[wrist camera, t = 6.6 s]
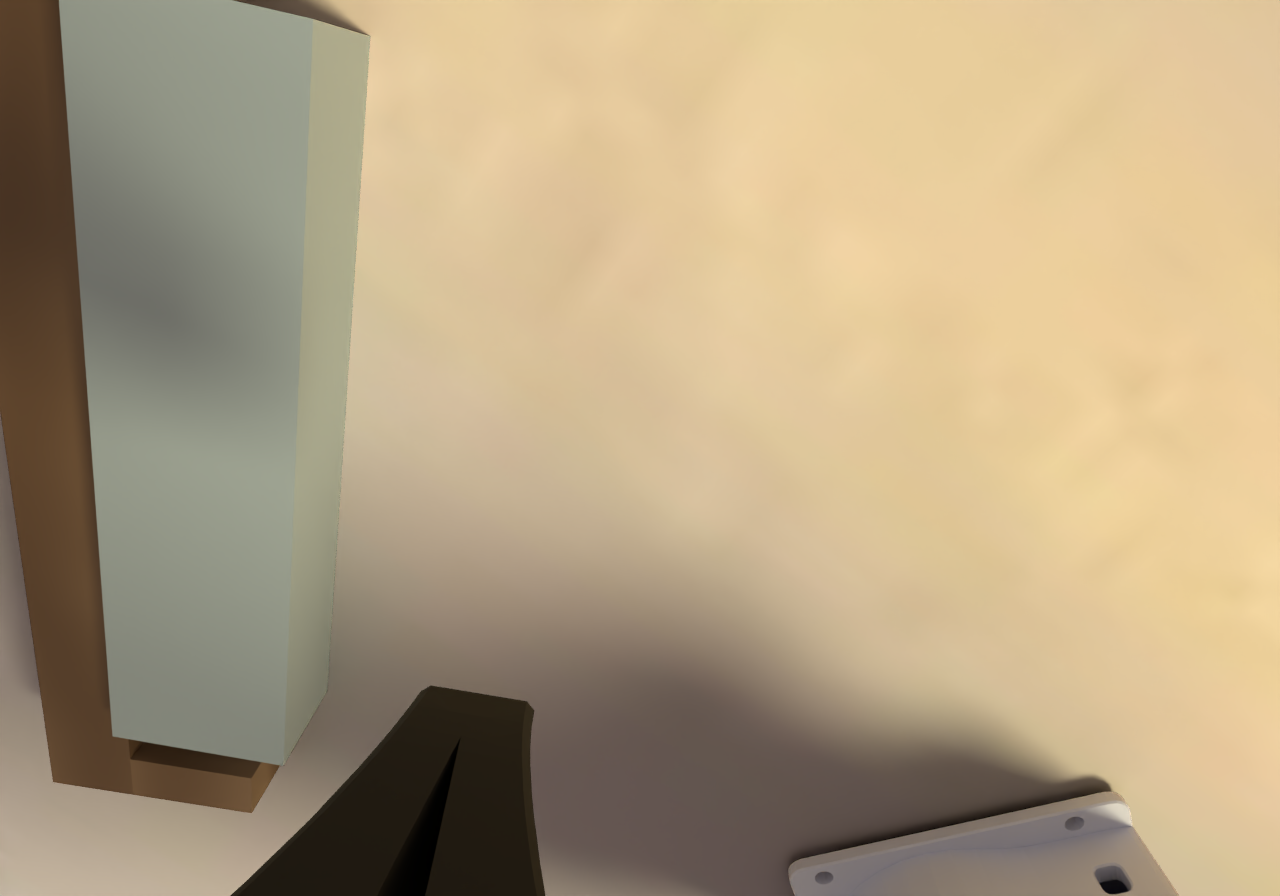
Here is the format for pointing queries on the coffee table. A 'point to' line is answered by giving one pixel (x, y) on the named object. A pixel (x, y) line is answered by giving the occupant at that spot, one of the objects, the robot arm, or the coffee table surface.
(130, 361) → the slat
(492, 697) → the robot arm
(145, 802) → the coffee table surface
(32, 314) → the end rail
